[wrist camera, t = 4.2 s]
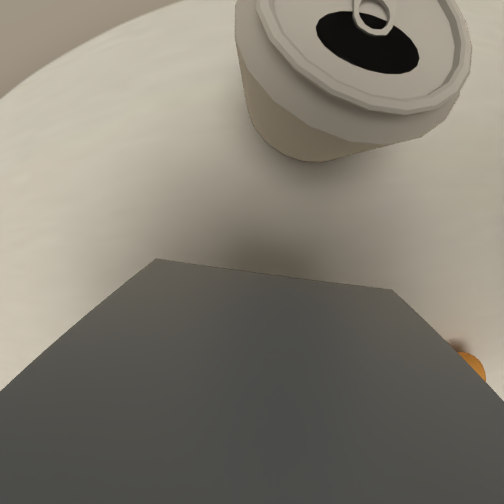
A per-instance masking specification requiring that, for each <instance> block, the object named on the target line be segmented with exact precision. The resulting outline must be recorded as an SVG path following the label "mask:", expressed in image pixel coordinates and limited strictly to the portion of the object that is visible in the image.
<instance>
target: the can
mask: <svg viewBox="0 0 504 504" xmlns="http://www.w3.org/2000/svg"><path fill="white" fill-rule="evenodd" d="M235 41H236V47H237V52H238V58H239V64H240V69H241V75H242V81H243V87H244V92H245V98H246V104H247V109H248V111H249V114H250V117H251V120H252V123H253V126H254V127H255V128H256V130H257V131H258V132H259V134H260V135H261V136H262V137H263V139H264V140H265V141H266V142H267V143H268V144H269V145H271V146H272V147H274V148H275V149H276V150H278V151H279V152H281V153H282V154H284V155H287V156H290V157H293V158H295V159H298V160H301V161H314V162H325V161H328V160H332V159H336V158H339V157H343V156H347V155H351V154H355V153H359V152H362V151H366V150H370V149H374V148H378V147H383V146H387V145H391V144H395V143H399V142H403V141H407V140H411V139H416V138H420V137H422V136H424V135H425V134H426V133H428V132H429V131H431V130H432V129H433V128H435V127H436V126H437V125H439V124H440V123H442V122H443V121H444V120H445V119H446V118H447V116H448V114H449V113H450V111H451V109H452V107H453V106H454V104H455V102H456V101H457V99H458V97H459V94H460V90H461V88H462V86H463V85H464V83H465V81H466V79H467V77H468V75H469V74H470V65H471V55H472V45H471V41H470V37H469V32H468V28H467V25H466V21H465V19H464V17H463V15H462V13H461V12H460V10H459V8H458V6H457V4H456V2H455V1H454V0H238V1H237V3H236V5H235Z"/></svg>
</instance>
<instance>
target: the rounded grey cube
mask: <svg viewBox="0 0 504 504" xmlns="http://www.w3.org/2000/svg"><path fill="white" fill-rule="evenodd" d="M0 504H504V401H503V400H502V399H501V398H500V397H499V396H498V395H497V394H496V393H495V392H494V390H493V389H492V388H491V387H490V386H489V385H488V384H487V383H486V382H485V381H484V380H483V379H482V378H481V376H480V375H479V374H478V373H477V372H476V371H475V370H474V369H473V368H472V367H471V366H470V365H469V364H468V363H467V362H466V361H465V360H464V359H463V358H462V357H461V356H460V355H459V354H458V353H457V352H456V351H455V350H454V349H453V348H452V347H451V346H450V345H449V344H448V343H447V342H446V341H445V340H444V339H443V338H442V337H441V336H440V335H439V334H438V333H437V332H436V331H435V330H434V329H433V328H432V327H431V326H430V325H429V324H428V323H427V322H426V321H425V320H424V319H423V318H422V317H421V316H420V315H419V314H418V313H417V312H415V311H414V310H413V309H412V308H411V307H410V306H409V305H408V304H407V303H406V302H405V301H404V300H403V299H402V298H401V297H399V296H398V295H397V294H396V293H395V292H394V291H393V290H390V289H382V288H373V287H365V286H356V285H348V284H339V283H331V282H323V281H315V280H307V279H299V278H292V277H284V276H276V275H269V274H261V273H254V272H246V271H239V270H232V269H225V268H218V267H210V266H203V265H196V264H190V263H183V262H176V261H169V260H162V259H155V260H154V261H152V262H151V263H150V264H148V265H147V266H146V267H145V268H143V269H142V270H141V271H140V272H138V273H137V274H136V275H134V276H133V277H132V278H131V279H129V280H128V281H127V282H126V283H124V284H123V285H122V286H121V287H120V288H118V289H117V290H116V291H115V292H113V293H112V294H111V295H110V296H108V297H107V298H106V299H105V300H104V301H102V302H101V303H100V304H99V305H98V306H96V307H95V308H94V309H93V310H92V311H90V312H89V313H88V314H87V315H86V316H84V317H83V318H82V319H81V320H80V321H78V322H77V323H76V324H75V325H74V326H73V327H71V328H70V329H69V330H68V331H67V332H66V333H64V334H63V335H62V336H61V337H60V338H59V339H58V340H56V341H55V342H54V343H53V344H52V345H51V346H50V347H48V348H47V349H46V350H45V351H44V352H43V353H42V354H41V355H39V356H38V357H37V358H36V359H35V360H34V361H33V362H32V363H31V364H29V365H28V366H27V367H26V368H25V369H24V370H23V371H22V372H21V373H20V374H18V375H17V376H16V377H15V378H14V379H13V380H12V381H11V382H10V383H9V384H8V385H7V386H6V387H5V388H4V389H2V390H1V391H0Z"/></svg>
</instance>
